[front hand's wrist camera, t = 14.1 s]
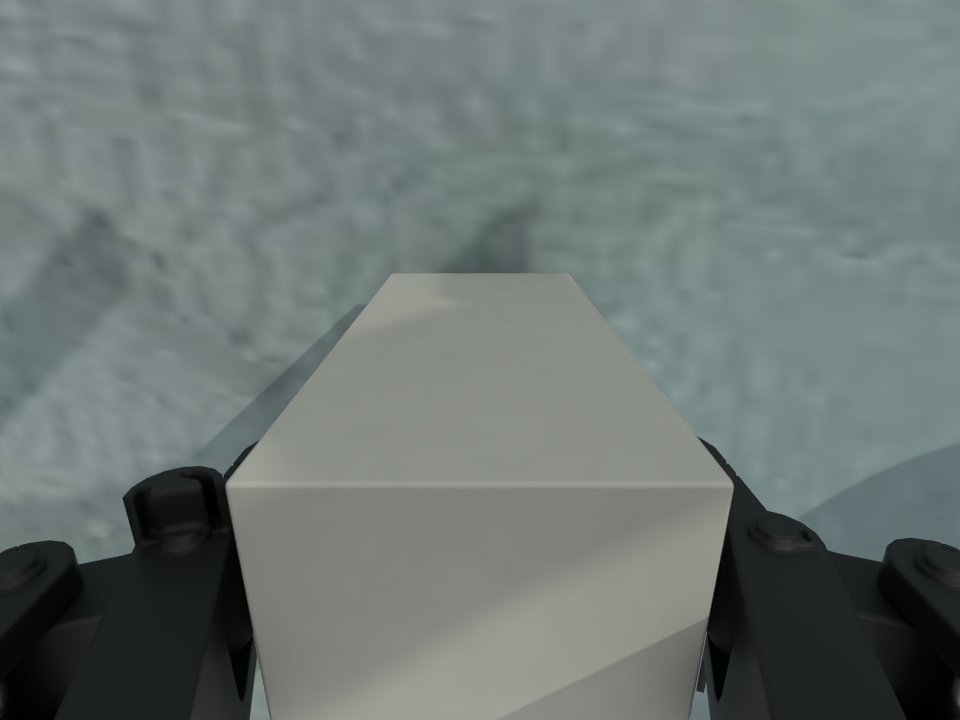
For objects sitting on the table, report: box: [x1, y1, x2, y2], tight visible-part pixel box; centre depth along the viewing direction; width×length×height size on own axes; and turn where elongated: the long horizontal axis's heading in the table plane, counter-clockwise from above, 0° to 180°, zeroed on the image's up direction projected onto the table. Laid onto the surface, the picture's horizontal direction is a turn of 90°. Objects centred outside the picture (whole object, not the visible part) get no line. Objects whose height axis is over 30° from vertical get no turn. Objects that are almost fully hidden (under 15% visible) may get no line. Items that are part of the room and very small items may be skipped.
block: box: [226, 273, 734, 720], centre depth 12 cm, size 6×6×12 cm
